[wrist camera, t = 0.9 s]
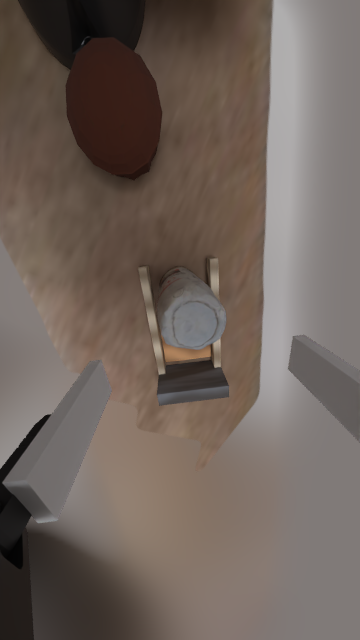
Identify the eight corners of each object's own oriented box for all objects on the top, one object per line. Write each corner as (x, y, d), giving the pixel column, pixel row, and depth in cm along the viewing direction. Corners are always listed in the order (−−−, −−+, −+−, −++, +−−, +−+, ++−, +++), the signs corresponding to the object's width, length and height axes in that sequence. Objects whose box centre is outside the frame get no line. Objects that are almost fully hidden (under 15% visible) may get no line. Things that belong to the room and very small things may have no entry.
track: (140, 266, 34) (130, 272, 26) (214, 257, 34) (228, 260, 26) (161, 376, 44) (159, 405, 36) (218, 369, 44) (228, 397, 36)
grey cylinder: (195, 261, 34) (225, 276, 16) (204, 300, 37) (236, 351, 19) (154, 272, 35) (135, 300, 16) (166, 310, 38) (161, 369, 19)
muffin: (157, 197, 30) (151, 174, 21) (90, 181, 29) (52, 150, 19) (169, 102, 25) (167, 19, 16) (90, 79, 24) (40, -25, 15)
